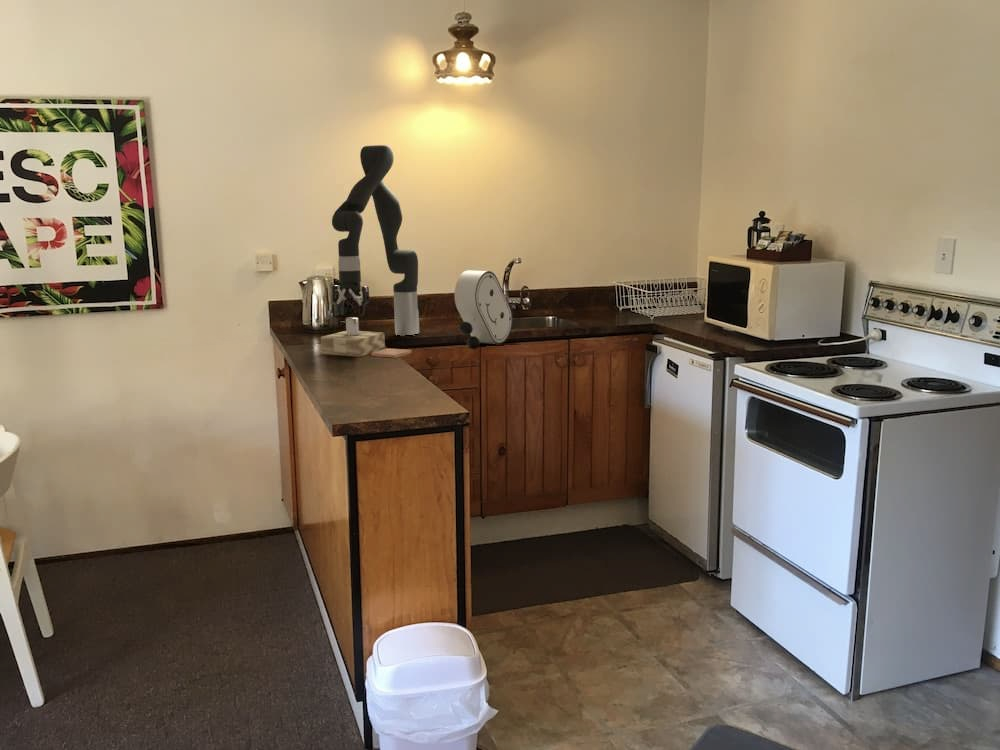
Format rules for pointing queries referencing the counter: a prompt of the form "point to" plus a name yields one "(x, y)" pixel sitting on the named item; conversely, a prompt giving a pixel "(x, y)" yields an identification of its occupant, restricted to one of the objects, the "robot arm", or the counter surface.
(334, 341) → the bore block
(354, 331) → the light grey cylinder
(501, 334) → the robot
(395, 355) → the coaster
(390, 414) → the counter surface
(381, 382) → the counter surface
